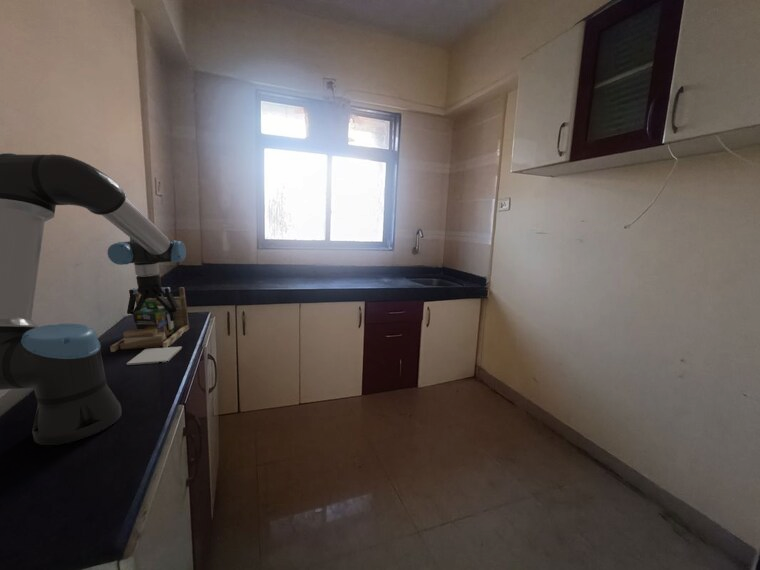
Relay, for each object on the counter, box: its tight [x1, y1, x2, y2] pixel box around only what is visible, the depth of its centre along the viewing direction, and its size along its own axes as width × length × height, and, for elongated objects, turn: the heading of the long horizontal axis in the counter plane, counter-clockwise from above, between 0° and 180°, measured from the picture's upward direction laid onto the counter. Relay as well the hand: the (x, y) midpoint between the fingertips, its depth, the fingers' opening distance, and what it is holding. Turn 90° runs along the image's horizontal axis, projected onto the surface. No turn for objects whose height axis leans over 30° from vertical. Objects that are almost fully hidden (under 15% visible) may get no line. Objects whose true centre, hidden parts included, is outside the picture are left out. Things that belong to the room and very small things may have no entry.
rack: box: [109, 286, 190, 353], centre depth 128 cm, size 22×18×18 cm
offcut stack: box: [119, 328, 168, 350], centre depth 123 cm, size 4×14×6 cm, turn 100°
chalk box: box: [133, 301, 176, 338], centre depth 131 cm, size 9×9×15 cm
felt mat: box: [126, 346, 183, 366], centre depth 114 cm, size 12×12×1 cm
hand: (156, 329), depth 132 cm, fingers closed on chalk box, 10 cm apart
